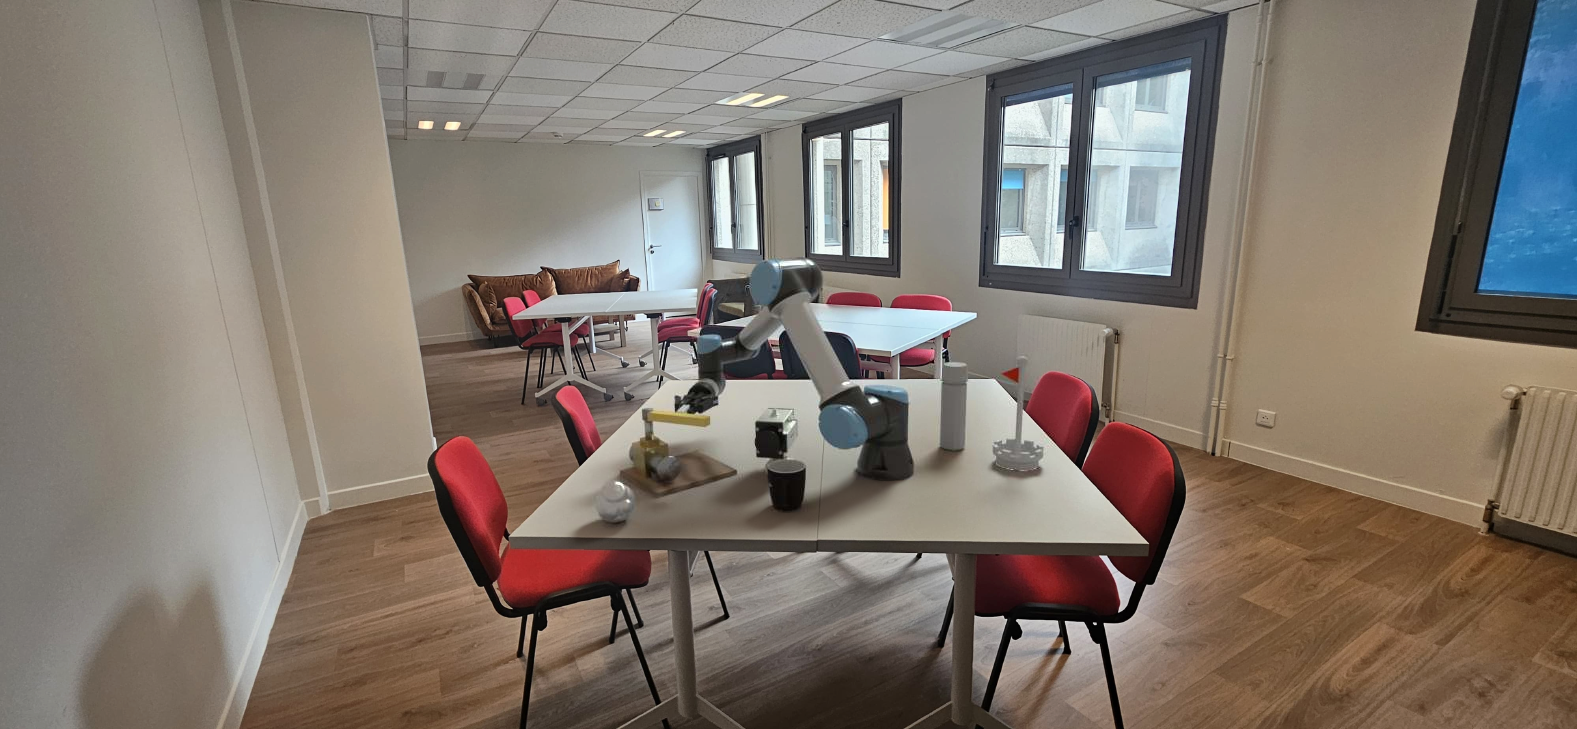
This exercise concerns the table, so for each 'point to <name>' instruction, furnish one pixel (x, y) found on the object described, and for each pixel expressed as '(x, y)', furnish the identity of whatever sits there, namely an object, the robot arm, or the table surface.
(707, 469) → the walnut board
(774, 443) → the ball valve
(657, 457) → the valve body
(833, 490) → the table surface
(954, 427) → the water bottle
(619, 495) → the round lidded jar
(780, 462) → the mug
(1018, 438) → the flag stand
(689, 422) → the valve lever
